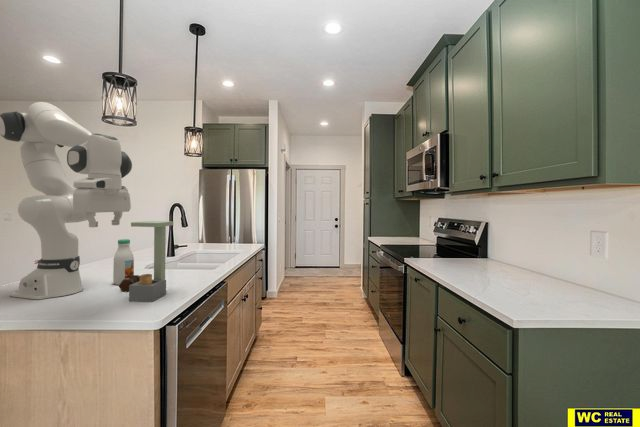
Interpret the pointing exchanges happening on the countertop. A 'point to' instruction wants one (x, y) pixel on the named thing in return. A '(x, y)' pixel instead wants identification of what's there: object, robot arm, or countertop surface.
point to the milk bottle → (123, 262)
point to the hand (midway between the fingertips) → (105, 226)
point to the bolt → (128, 282)
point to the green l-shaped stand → (157, 245)
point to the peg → (146, 279)
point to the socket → (147, 291)
